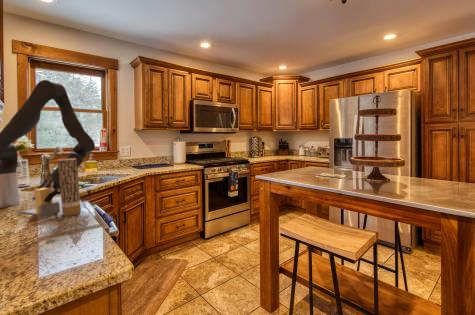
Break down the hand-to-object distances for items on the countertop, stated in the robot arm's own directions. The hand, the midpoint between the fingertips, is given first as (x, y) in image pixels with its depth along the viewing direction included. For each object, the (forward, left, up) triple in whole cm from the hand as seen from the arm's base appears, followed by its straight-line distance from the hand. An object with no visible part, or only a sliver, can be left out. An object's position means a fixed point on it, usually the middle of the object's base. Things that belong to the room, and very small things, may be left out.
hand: (40, 201), depth 110 cm
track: (-4, +1, -6) cm, 8 cm away
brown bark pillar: (+13, +5, -7) cm, 15 cm away
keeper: (0, +1, -6) cm, 6 cm away
